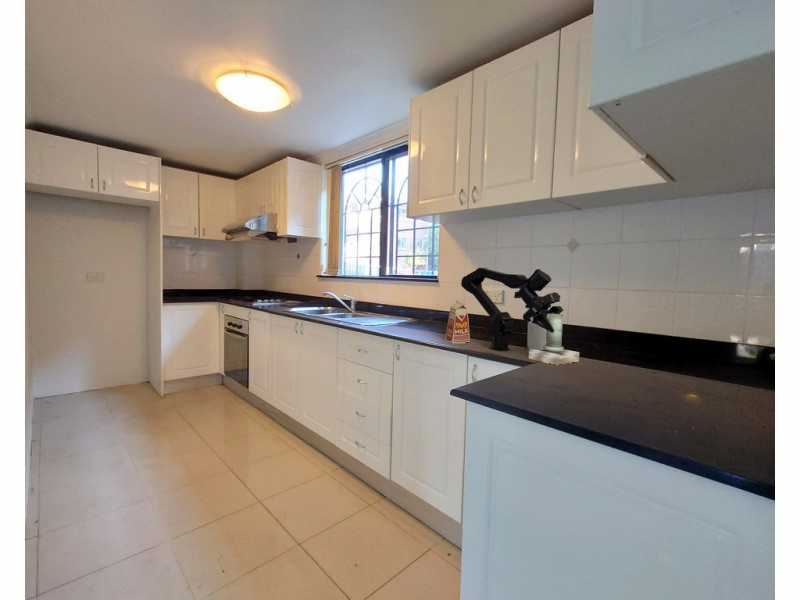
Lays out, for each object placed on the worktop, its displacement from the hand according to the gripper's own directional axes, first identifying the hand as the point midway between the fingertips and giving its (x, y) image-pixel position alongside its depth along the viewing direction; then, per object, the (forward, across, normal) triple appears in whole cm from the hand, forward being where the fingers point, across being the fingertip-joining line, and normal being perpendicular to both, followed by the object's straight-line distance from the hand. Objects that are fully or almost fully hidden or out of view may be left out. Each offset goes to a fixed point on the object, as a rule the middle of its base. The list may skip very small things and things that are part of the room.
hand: (557, 331), depth 124 cm
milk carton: (-26, -2, +42) cm, 49 cm away
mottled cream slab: (+7, 0, +8) cm, 11 cm away
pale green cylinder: (+4, 0, +6) cm, 7 cm away
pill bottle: (-4, +15, +20) cm, 26 cm away
